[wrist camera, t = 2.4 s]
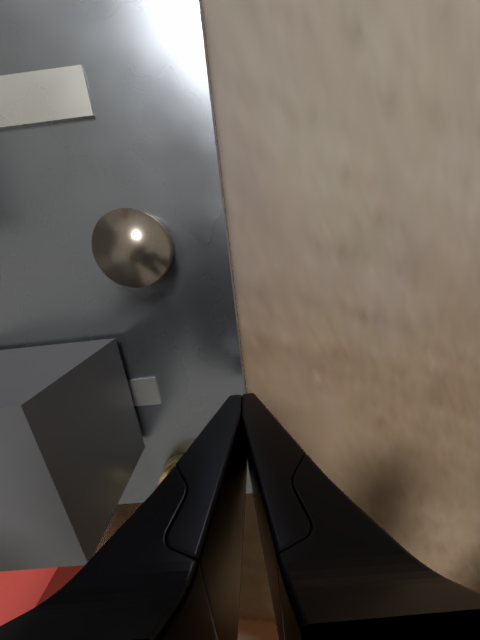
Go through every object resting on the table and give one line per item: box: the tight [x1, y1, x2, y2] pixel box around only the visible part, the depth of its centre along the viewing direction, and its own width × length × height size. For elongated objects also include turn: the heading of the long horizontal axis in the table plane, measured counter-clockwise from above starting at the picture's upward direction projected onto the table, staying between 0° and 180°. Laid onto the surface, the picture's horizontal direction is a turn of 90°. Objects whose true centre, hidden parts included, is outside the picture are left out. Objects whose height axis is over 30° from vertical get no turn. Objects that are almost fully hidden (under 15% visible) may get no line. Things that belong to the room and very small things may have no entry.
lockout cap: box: [0, 553, 95, 626], centre depth 13 cm, size 4×4×4 cm
